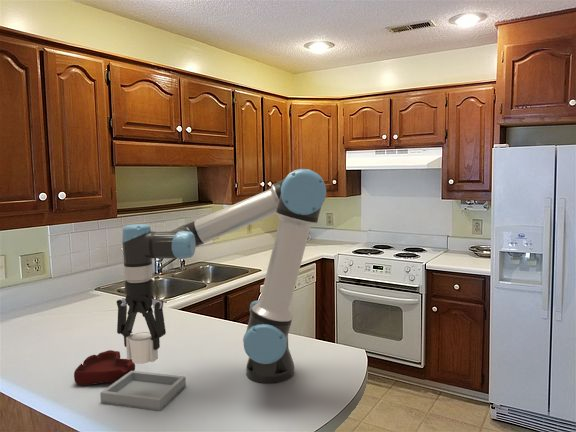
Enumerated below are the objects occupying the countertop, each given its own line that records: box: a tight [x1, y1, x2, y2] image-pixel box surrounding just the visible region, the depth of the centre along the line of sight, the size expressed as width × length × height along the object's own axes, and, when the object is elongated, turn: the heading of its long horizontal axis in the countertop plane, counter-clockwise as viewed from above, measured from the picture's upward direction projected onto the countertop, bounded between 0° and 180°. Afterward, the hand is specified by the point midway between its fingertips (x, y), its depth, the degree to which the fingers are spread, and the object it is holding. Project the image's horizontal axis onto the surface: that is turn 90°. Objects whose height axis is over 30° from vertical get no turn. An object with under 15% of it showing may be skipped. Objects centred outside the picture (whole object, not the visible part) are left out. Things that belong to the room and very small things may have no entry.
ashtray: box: [73, 349, 136, 386], centre depth 141 cm, size 18×16×5 cm
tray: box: [100, 370, 187, 412], centre depth 129 cm, size 18×14×3 cm
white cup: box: [129, 331, 152, 365], centre depth 128 cm, size 7×7×7 cm
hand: (142, 358), depth 128 cm, fingers closed on white cup, 7 cm apart
